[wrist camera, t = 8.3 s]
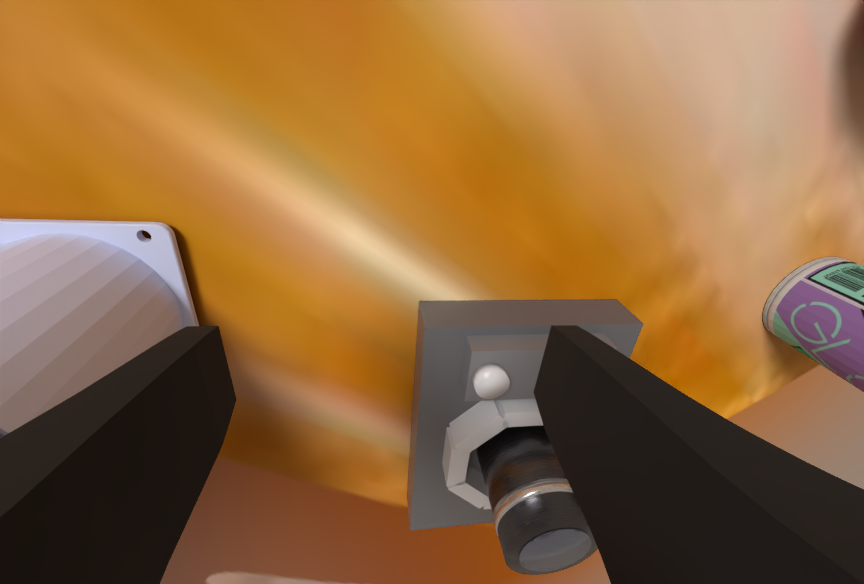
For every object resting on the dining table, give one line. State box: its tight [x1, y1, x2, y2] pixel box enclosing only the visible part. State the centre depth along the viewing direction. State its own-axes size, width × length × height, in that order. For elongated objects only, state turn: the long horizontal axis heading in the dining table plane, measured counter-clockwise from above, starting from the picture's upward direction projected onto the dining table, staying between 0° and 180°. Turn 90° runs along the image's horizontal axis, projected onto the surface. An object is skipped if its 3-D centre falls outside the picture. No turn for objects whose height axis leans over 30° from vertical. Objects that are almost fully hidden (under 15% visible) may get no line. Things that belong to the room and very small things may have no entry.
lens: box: [476, 425, 598, 575], centre depth 19 cm, size 4×4×6 cm
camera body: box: [407, 299, 643, 530], centre depth 22 cm, size 11×16×4 cm
